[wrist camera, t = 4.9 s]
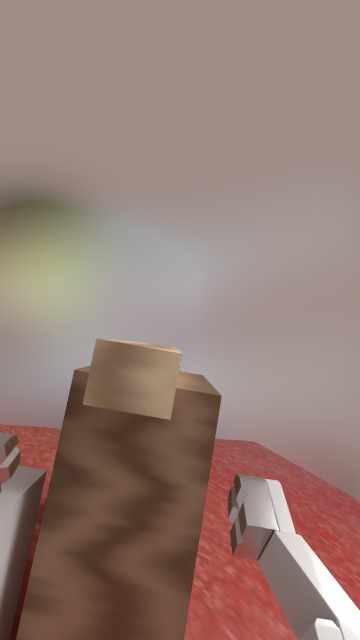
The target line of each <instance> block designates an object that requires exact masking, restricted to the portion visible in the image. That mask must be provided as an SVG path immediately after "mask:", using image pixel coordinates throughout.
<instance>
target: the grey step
mask: <svg viewBox="0 0 360 640" xmlns="http://www.w3.org/2000/svg"><path fill="white" fill-rule="evenodd" d="M46 472H47V471H46V470H41V469H35V468H29V467H24V466H18V467H17V469H16V471H15V473H14V474H13V476H12V477H11V479H9V480H8V481H6V482H4V483H3V484H1V493H0V640H10V636H11V631H12V627H13V622H14V618H15V613H16V609H17V604H18V599H19V595H20V590H21V586H22V581H23V577H24V572H25V568H26V563H27V558H28V554H29V549H30V545H31V540H32V536H33V531H34V526H35V522H36V517H37V513H38V508H39V504H40V499H41V494H42V490H43V485H44V481H45V476H46Z"/></svg>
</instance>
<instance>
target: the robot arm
mask: <svg viewBox="0 0 360 640" xmlns="http://www.w3.org/2000/svg"><path fill="white" fill-rule="evenodd" d="M18 443H19V440H18V436H16V435H11V434H5V433H0V493H1V484H3V483H4V482H6V481H8V480H9V479H11V477H12V476H13V474H14V473H15V471H16V469H17V467H18V465H19V462H20V457H21V453H20V450H19V449H18V448H17V447H16V445H17V444H18ZM234 484H235V486H233V487H231V489H230V492H229V498H228V514H229V518H230V520H231V521H232V523H233V526H232V529H231V531H230V535H231V545H232V555H233V556H237V557H242V558H247V559H252V560H257V561H258V562H257V563H258V565H259V566H260V568H261V570H262V572H263V574H264V576H265V578H266V580H267V582H268V584H269V585H270V587H271V589H272V591H273V593H274V595H275V597H276V599H277V601H278V602H279V604H280V606H281V608H282V610H283V612H284V614H285V616H286V618H287V619H288V621H289V623H290V625H291V627H292V629H293V631H294V633H295V635H296V636H297V638H298V640H360V611H359V610H358V608H357V607H356V606H355V605H354V603H353V602H352V601H351V599H350V598H349V597H348V596H347V594H346V593H345V592H344V590H343V589H342V588H341V587H340V585H339V584H338V583H337V582H336V580H335V579H334V578H333V576H332V575H331V574H330V573H329V571H328V570H327V569H326V567H325V566H324V565H323V564H322V562H321V561H320V560H319V558H318V557H317V556H316V555H315V553H314V552H313V551H312V549H311V548H310V547H309V546H308V544H307V543H306V542H305V540H304V539H303V538H302V537H301V535H298V534H296V533H295V530H294V526H293V523H292V520H291V516H290V513H289V510H288V506H287V503H286V500H285V496H284V493H283V490H282V486H281V484H280V483H279V481H276V480H269V479H264V478H260V477H254V476H247V475H241V474H237V475H236V476H235V479H234Z"/></svg>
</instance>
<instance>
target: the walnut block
mask: <svg viewBox="0 0 360 640" xmlns="http://www.w3.org/2000/svg"><path fill="white" fill-rule="evenodd" d="M90 367H91V366H89V367H84V368H80V369H76V370H74V374H73V379H72V384H71V388H70V393H69V397H68V402H67V407H66V411H65V416H64V420H63V426H62V430H61V434H60V439H59V443H58V448H57V453H56V457H55V462H54V466H53V471H52V476H51V480H50V485H49V490H48V494H47V499H46V503H45V508H44V513H43V517H42V522H41V526H40V531H39V536H38V540H37V545H36V550H35V554H34V559H33V563H32V568H31V573H30V577H29V582H28V586H27V591H26V596H25V600H24V605H23V610H22V614H21V619H20V623H19V628H18V633H17V637H16V640H184V635H185V628H186V622H187V615H188V609H189V603H190V596H191V590H192V583H193V577H194V570H195V564H196V557H197V551H198V544H199V538H200V532H201V525H202V519H203V512H204V506H205V499H206V493H207V486H208V480H209V473H210V467H211V461H212V454H213V448H214V441H215V434H216V428H217V422H218V415H219V409H220V402H221V395H220V394H219V393H218V391H217V390H216V389H215V388H214V387H213V386H212V385H211V384H210V383H209V382H208V381H207V380H206V379H205V378H204V376H202V375H197V374H191V373H186V372H180V371H179V374H178V379H177V385H176V391H175V397H174V402H173V408H172V414H171V420H168V419H162V418H157V417H151V416H146V415H140V414H134V413H129V412H123V411H117V410H112V409H106V408H100V407H95V406H89V405H83V400H84V396H85V391H86V386H87V381H88V377H89V372H90Z"/></svg>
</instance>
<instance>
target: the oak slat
mask: <svg viewBox="0 0 360 640" xmlns="http://www.w3.org/2000/svg"><path fill="white" fill-rule="evenodd" d="M181 356H182V353H181V352H180V351H179V350H178V349H177V348H172V347H166V346H161V345H155V344H150V343H141V342H130V341H119V340H108V339H98V338H97V339H96V344H95V348H94V354H93V358H92V363H91V367H90V372H89V377H88V381H87V386H86V391H85V396H84V400H83V405H89V406H95V407H100V408H106V409H112V410H117V411H123V412H129V413H134V414H140V415H146V416H151V417H157V418H162V419H168V420H171V414H172V408H173V402H174V397H175V391H176V385H177V379H178V374H179V368H180V362H181Z"/></svg>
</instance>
